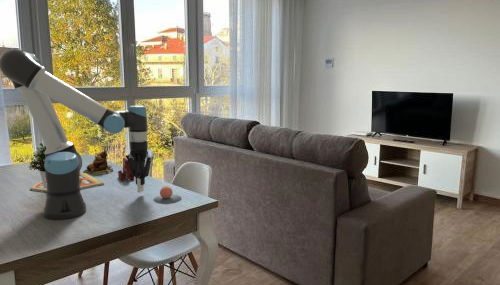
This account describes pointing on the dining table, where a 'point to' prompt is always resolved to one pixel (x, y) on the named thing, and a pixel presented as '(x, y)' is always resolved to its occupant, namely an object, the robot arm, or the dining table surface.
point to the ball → (166, 192)
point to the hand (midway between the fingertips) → (140, 191)
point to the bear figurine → (99, 165)
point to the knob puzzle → (84, 179)
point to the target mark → (165, 201)
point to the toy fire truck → (125, 171)
